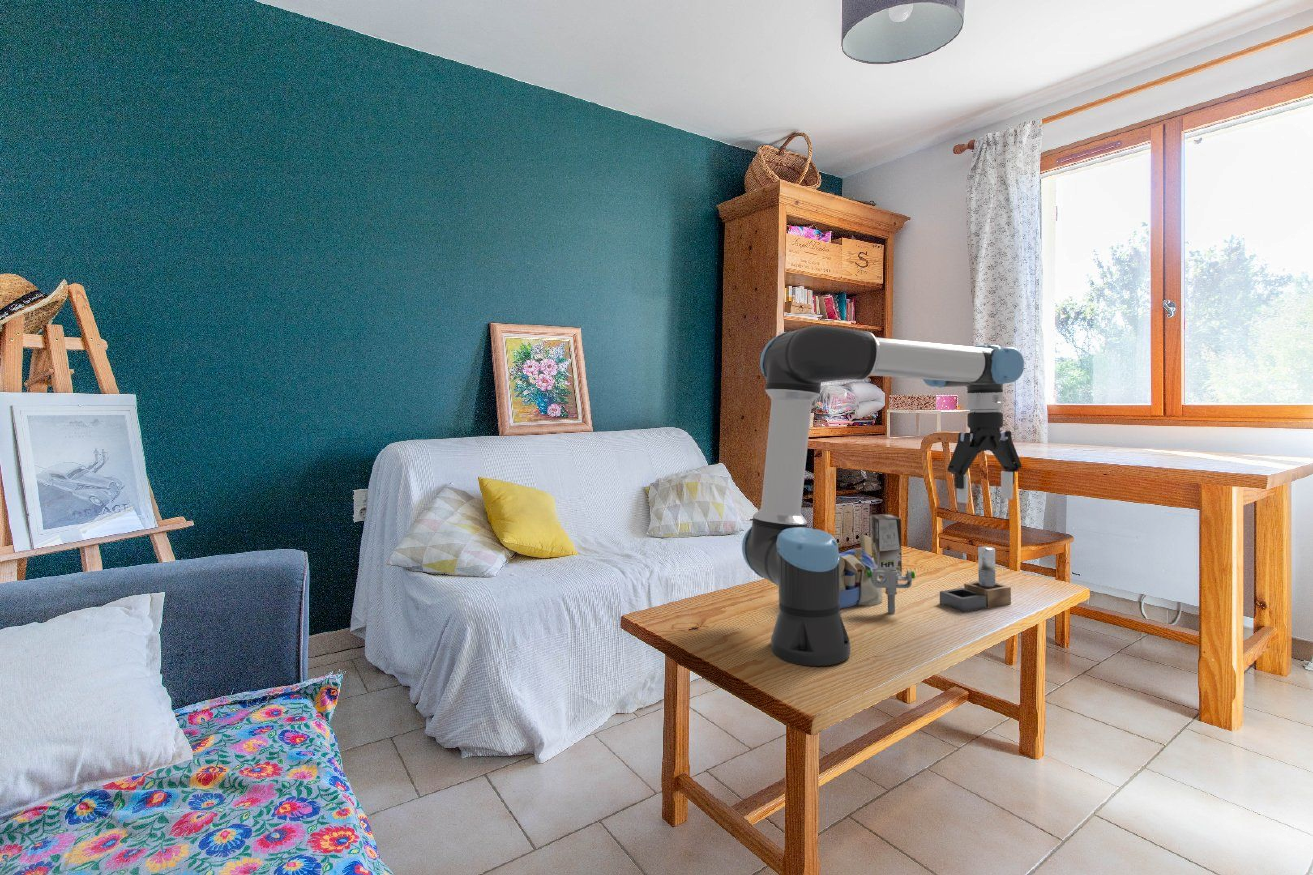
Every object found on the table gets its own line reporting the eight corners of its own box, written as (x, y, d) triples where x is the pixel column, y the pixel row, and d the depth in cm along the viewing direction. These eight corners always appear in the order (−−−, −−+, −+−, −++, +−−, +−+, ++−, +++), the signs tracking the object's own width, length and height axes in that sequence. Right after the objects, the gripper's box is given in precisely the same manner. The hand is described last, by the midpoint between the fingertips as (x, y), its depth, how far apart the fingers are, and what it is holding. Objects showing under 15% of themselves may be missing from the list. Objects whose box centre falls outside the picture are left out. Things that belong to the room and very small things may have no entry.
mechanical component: (916, 615, 144) (915, 572, 143) (869, 614, 146) (868, 571, 145) (913, 611, 146) (912, 568, 146) (867, 610, 148) (866, 568, 148)
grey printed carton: (903, 576, 176) (901, 518, 175) (879, 576, 176) (878, 519, 175) (892, 567, 185) (891, 513, 184) (870, 568, 185) (869, 513, 184)
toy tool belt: (823, 625, 140) (821, 554, 139) (772, 607, 154) (770, 542, 153) (898, 602, 154) (897, 537, 153) (845, 587, 168) (844, 527, 167)
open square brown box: (988, 607, 147) (987, 590, 147) (964, 599, 154) (964, 583, 153) (1010, 603, 149) (1010, 587, 149) (986, 595, 156) (986, 579, 156)
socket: (962, 612, 145) (962, 599, 144) (939, 603, 151) (939, 591, 151) (986, 608, 147) (986, 595, 147) (962, 599, 153) (962, 587, 153)
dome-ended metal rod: (987, 604, 149) (986, 550, 148) (975, 600, 152) (974, 547, 152) (999, 602, 150) (998, 548, 150) (986, 598, 154) (986, 545, 153)
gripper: (955, 412, 142) (955, 506, 143) (1038, 410, 150) (1038, 498, 151) (930, 412, 149) (931, 501, 150) (1011, 410, 157) (1011, 495, 158)
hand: (985, 500), depth 150 cm, fingers open, 13 cm apart
